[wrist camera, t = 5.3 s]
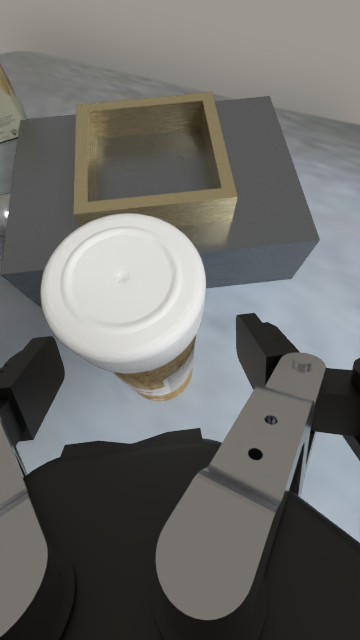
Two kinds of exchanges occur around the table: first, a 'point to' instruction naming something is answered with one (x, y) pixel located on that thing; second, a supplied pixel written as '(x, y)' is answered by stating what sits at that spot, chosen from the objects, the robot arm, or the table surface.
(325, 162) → the table surface
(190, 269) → the sprinkles bottle
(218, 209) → the grey block with recess
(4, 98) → the skincare box
